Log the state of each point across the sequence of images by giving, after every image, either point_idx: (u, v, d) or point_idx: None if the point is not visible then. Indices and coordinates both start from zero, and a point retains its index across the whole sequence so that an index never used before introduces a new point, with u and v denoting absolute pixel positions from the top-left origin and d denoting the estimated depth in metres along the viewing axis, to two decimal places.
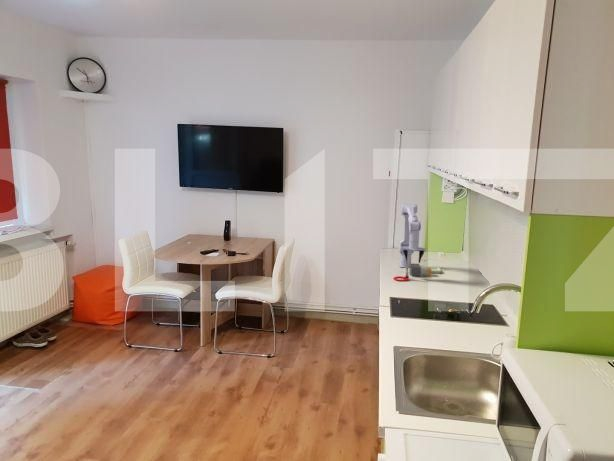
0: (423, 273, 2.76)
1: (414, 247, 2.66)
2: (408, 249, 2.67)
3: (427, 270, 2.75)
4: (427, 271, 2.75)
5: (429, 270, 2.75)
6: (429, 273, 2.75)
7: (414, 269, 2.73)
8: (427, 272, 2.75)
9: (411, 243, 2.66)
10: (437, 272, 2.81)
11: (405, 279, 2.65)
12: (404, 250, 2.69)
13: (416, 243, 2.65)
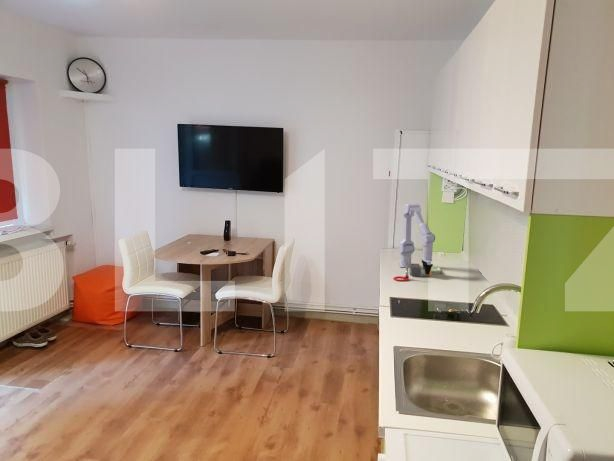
0: (423, 273, 2.76)
1: None
2: None
3: None
4: None
5: None
6: (429, 273, 2.75)
7: (414, 269, 2.73)
8: None
9: None
10: (437, 272, 2.81)
11: (405, 279, 2.65)
12: None
13: (424, 254, 2.74)
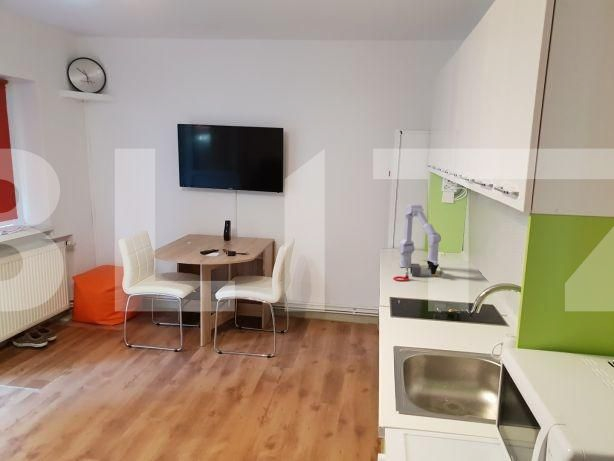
0: (428, 273, 2.75)
1: (428, 257, 2.75)
2: None
3: None
4: None
5: None
6: None
7: (414, 269, 2.73)
8: None
9: None
10: (437, 272, 2.81)
11: (405, 279, 2.65)
12: None
13: (429, 254, 2.74)
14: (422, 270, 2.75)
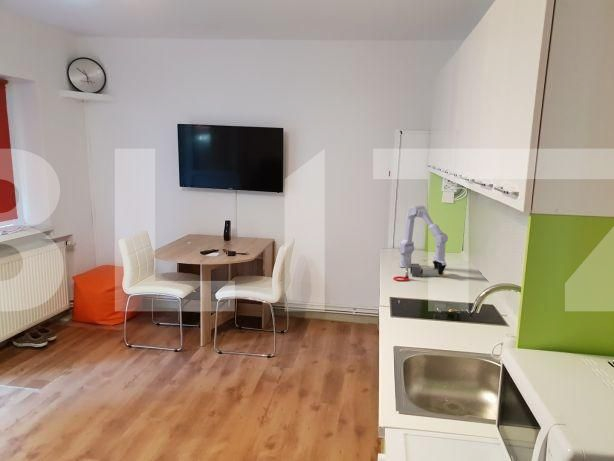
0: (435, 273, 2.75)
1: (435, 258, 2.75)
2: (434, 259, 2.78)
3: None
4: None
5: None
6: None
7: (414, 269, 2.73)
8: None
9: None
10: None
11: (405, 279, 2.65)
12: None
13: (437, 254, 2.73)
14: (429, 270, 2.74)
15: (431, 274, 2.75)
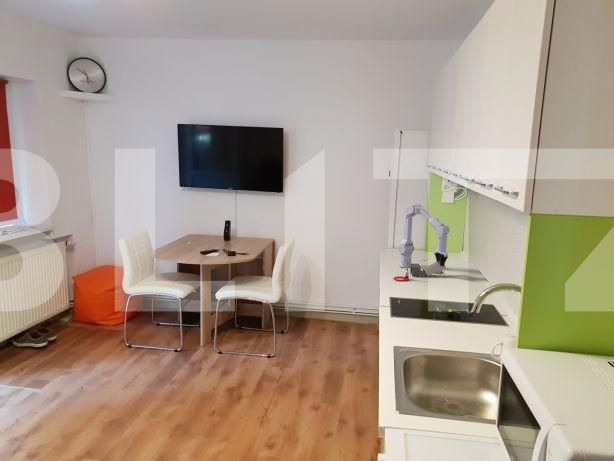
0: (438, 268, 2.74)
1: (437, 249, 2.74)
2: (436, 250, 2.77)
3: None
4: None
5: None
6: None
7: (414, 269, 2.73)
8: None
9: None
10: (437, 272, 2.81)
11: (405, 279, 2.65)
12: (436, 251, 2.80)
13: (438, 246, 2.72)
14: (431, 268, 2.73)
15: (434, 271, 2.74)
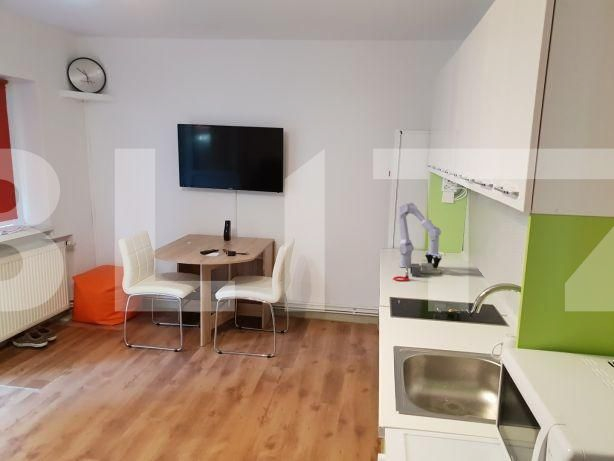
0: (433, 267, 2.82)
1: (430, 251, 2.83)
2: (427, 253, 2.87)
3: None
4: None
5: None
6: None
7: (414, 269, 2.73)
8: None
9: (429, 247, 2.84)
10: (437, 272, 2.81)
11: (405, 279, 2.65)
12: (427, 253, 2.89)
13: (431, 248, 2.81)
14: (430, 264, 2.79)
15: (432, 268, 2.80)
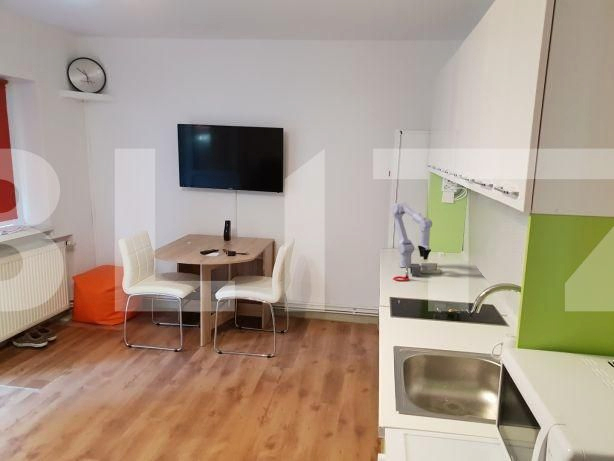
0: (433, 267, 2.82)
1: (420, 243, 2.82)
2: None
3: (435, 264, 2.84)
4: (435, 265, 2.84)
5: (436, 264, 2.85)
6: (436, 267, 2.85)
7: (414, 269, 2.73)
8: (435, 266, 2.84)
9: None
10: (437, 272, 2.81)
11: (405, 279, 2.65)
12: None
13: (421, 239, 2.80)
14: (430, 264, 2.79)
15: (431, 268, 2.80)
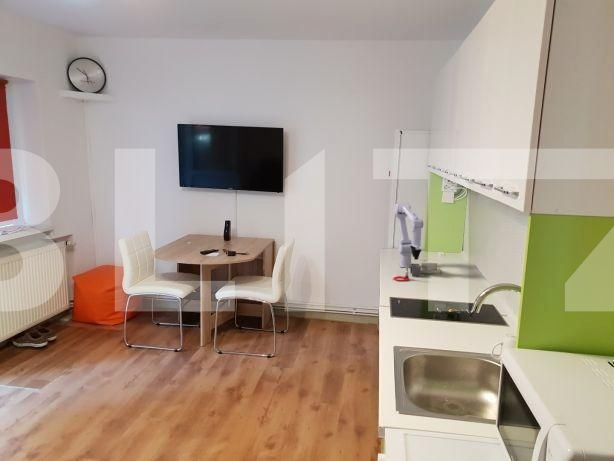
0: (433, 267, 2.82)
1: (411, 242, 2.81)
2: None
3: (435, 264, 2.84)
4: (435, 265, 2.84)
5: (436, 264, 2.85)
6: (436, 267, 2.85)
7: (414, 269, 2.73)
8: (435, 266, 2.84)
9: None
10: (437, 272, 2.81)
11: (405, 279, 2.65)
12: None
13: (412, 239, 2.80)
14: (430, 264, 2.79)
15: (431, 268, 2.80)
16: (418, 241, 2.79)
